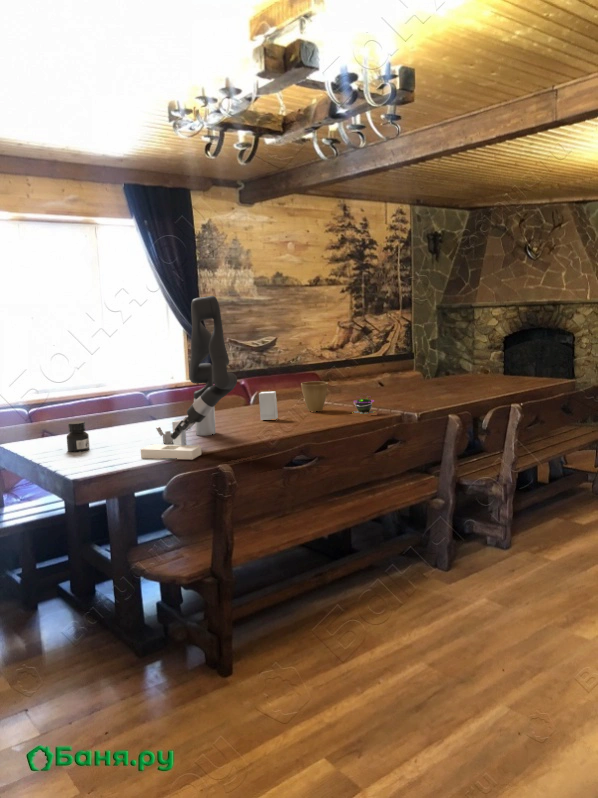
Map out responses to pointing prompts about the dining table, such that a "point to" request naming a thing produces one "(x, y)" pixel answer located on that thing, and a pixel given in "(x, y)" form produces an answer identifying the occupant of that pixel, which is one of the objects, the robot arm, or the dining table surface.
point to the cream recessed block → (171, 451)
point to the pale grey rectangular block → (181, 437)
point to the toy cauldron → (363, 406)
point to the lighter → (165, 435)
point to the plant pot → (314, 395)
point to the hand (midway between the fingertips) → (175, 436)
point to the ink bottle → (77, 437)
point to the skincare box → (268, 405)
